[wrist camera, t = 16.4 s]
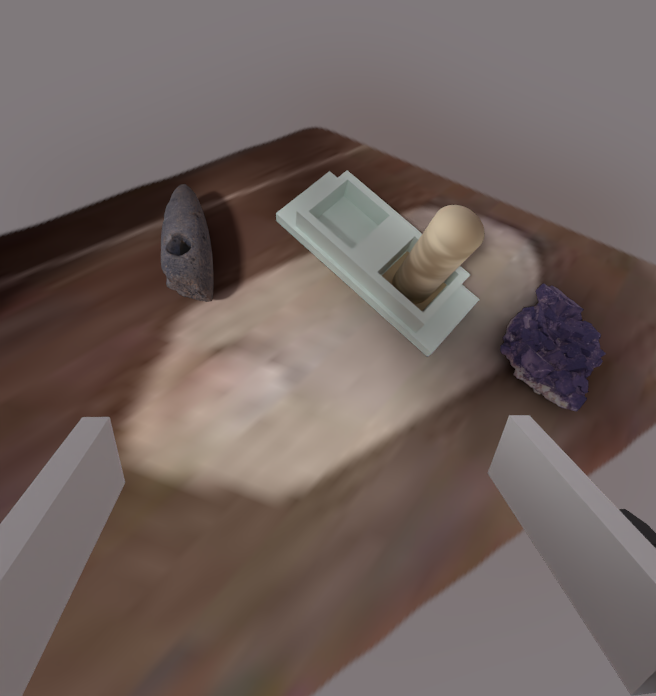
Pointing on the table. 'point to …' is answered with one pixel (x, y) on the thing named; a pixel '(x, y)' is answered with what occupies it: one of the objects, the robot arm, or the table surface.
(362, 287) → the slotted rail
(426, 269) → the birch peg
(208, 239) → the perforated stone tool
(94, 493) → the robot arm
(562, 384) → the mineral specimen
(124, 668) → the table surface
